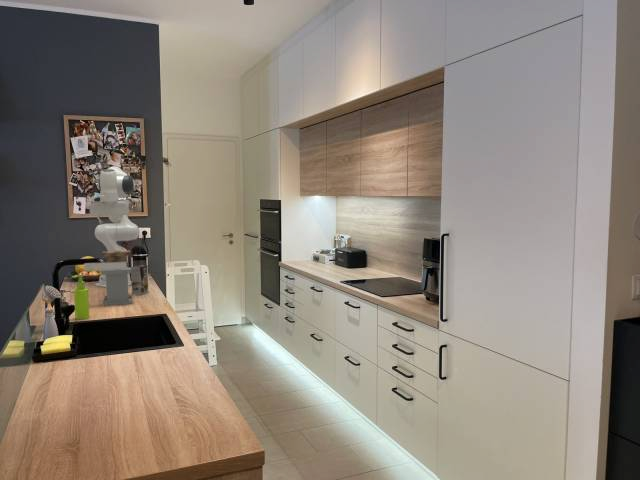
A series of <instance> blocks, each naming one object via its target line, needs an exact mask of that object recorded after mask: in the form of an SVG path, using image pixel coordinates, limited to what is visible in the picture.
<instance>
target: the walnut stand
mask: <svg viewBox="0 0 640 480" xmlns="http://www.w3.org/2000/svg"><path fill="white" fill-rule="evenodd" d="M131 253H132V252H131V250H130V249H129V250H127V251H108V250H106V251H104V250H103V251H102V252H101V257H102V258H105V259H106V262H124V261H126V265H127V256H128V257H130V256H131ZM127 284H128V274H127ZM128 298H132V299H133V295H132V293H131V294H128ZM103 300H107V295H106V296H105V295H104V297H103Z"/></svg>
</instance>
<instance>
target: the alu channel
mask: <svg viewBox="0 0 640 480" xmlns="http://www.w3.org/2000/svg"><path fill="white" fill-rule="evenodd" d="M121 269H127V265H126V261H124V262H107V261H103V262H87V263H86V262H85V263H83V272H99V271H102V270H121Z"/></svg>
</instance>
